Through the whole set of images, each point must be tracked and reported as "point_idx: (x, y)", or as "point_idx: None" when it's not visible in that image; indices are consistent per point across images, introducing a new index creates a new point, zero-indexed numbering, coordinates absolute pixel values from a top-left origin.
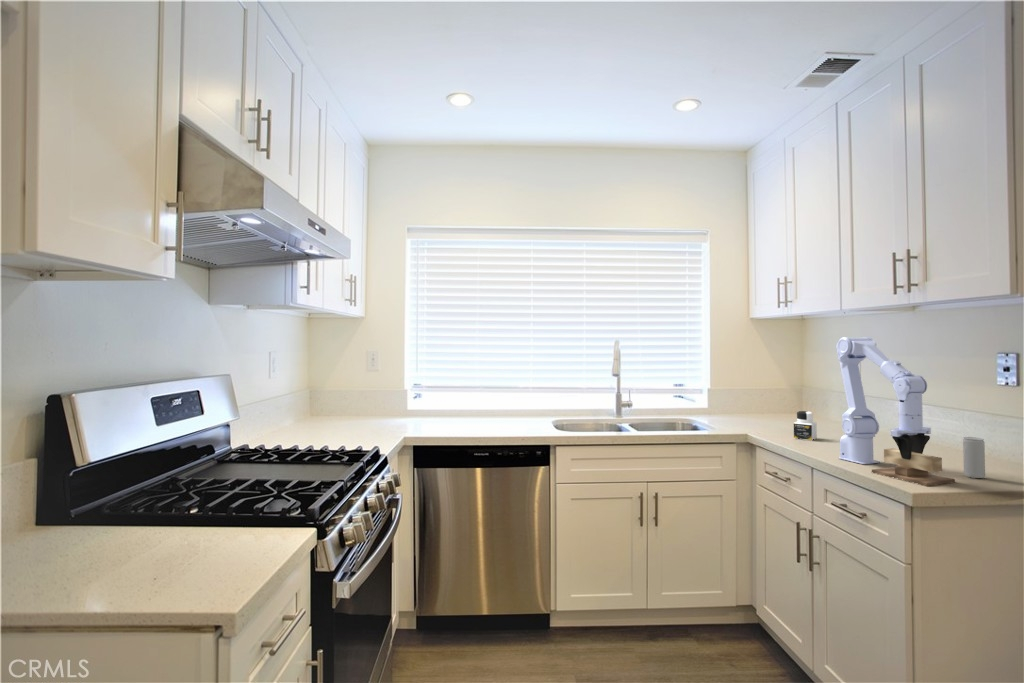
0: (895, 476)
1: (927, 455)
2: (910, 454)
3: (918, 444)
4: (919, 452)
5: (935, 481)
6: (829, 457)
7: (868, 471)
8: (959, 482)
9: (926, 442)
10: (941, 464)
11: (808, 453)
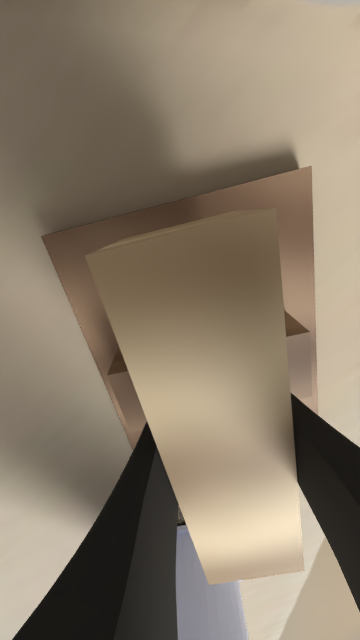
0: (313, 340)
1: (163, 376)
2: (307, 421)
3: (149, 584)
4: (159, 464)
5: (218, 192)
6: (254, 584)
7: None
8: (23, 233)
9: (38, 620)
10: (114, 244)
11: (274, 615)
